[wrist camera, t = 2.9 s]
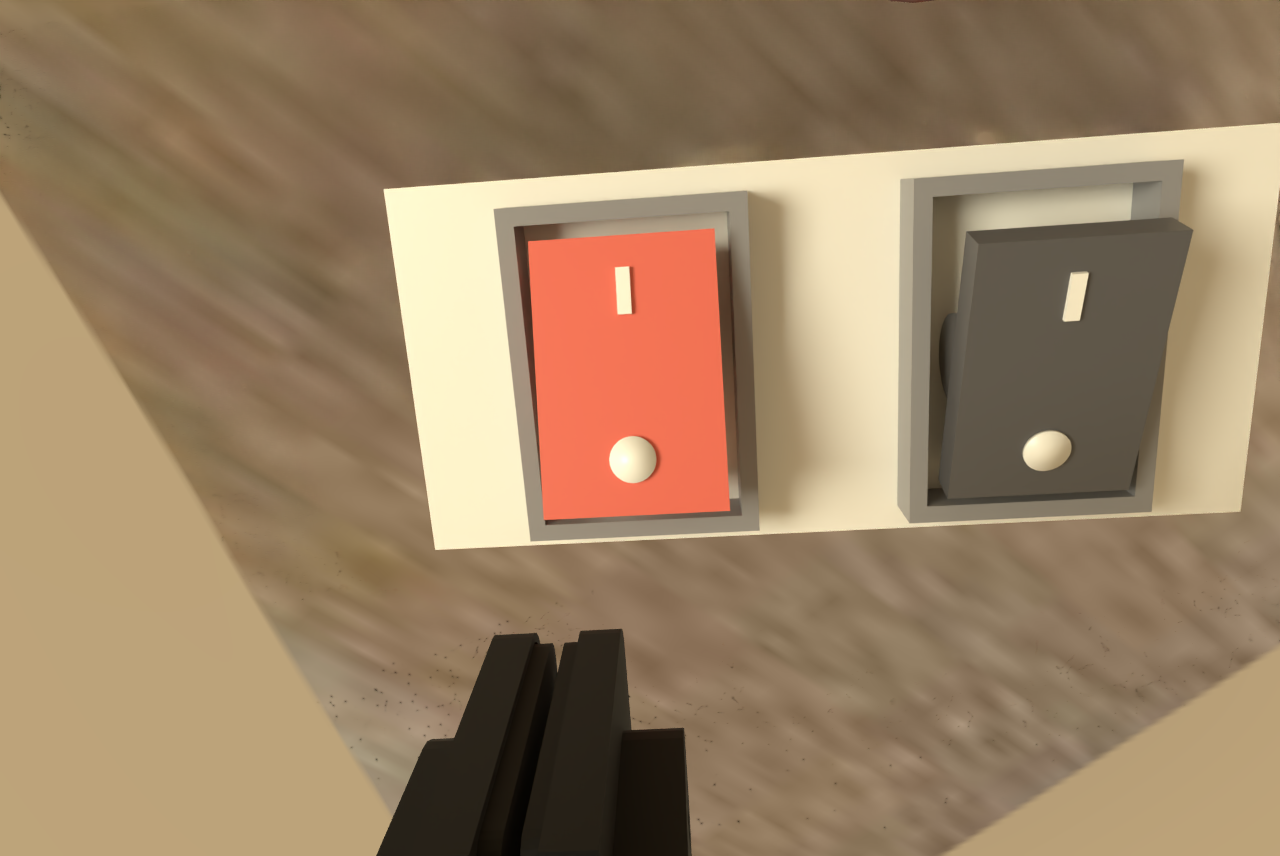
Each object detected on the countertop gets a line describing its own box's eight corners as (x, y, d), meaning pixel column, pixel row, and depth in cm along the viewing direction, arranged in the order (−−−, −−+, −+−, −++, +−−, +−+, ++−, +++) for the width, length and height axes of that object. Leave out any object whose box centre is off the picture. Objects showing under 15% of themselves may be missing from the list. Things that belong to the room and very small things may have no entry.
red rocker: (712, 247, 20) (714, 227, 18) (726, 501, 21) (730, 511, 18) (544, 259, 21) (526, 240, 19) (558, 509, 21) (542, 520, 19)
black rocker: (1141, 198, 18) (1195, 231, 16) (1089, 441, 21) (1131, 492, 19) (948, 212, 19) (979, 246, 17) (924, 450, 22) (948, 501, 20)
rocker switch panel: (1184, 133, 23) (1326, 117, 18) (1154, 461, 25) (1272, 530, 20) (431, 188, 24) (365, 189, 19) (471, 496, 26) (422, 569, 21)
